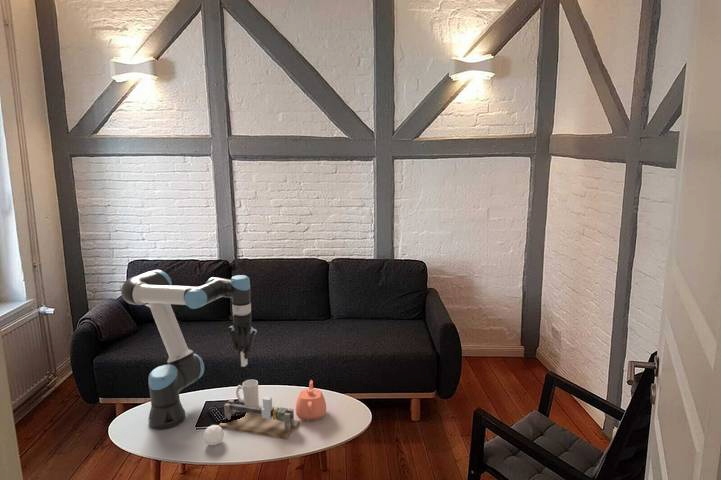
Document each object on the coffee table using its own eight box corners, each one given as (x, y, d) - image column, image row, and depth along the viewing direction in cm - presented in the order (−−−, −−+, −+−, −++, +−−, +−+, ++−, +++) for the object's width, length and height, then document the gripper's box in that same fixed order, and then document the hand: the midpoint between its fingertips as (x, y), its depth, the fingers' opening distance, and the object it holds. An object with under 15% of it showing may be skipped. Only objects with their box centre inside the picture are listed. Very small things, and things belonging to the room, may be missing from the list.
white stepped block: (261, 418, 221) (260, 399, 220) (266, 413, 225) (265, 395, 223) (270, 419, 220) (269, 401, 218) (274, 414, 224) (273, 396, 222)
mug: (260, 403, 243) (259, 379, 240) (257, 411, 236) (256, 386, 234) (239, 403, 243) (237, 379, 241) (235, 411, 237) (233, 386, 234)
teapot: (326, 402, 243) (325, 378, 240) (326, 426, 224) (325, 400, 221) (297, 403, 242) (296, 379, 240) (294, 428, 223) (293, 401, 220)
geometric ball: (218, 451, 212) (218, 444, 206) (200, 443, 213) (199, 435, 207) (227, 434, 217) (227, 426, 211) (209, 426, 218) (209, 418, 212)
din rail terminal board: (218, 427, 224) (217, 408, 222) (233, 412, 235) (232, 394, 233) (288, 439, 215) (287, 419, 213) (299, 423, 226) (299, 404, 224)
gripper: (223, 313, 217) (226, 366, 222) (251, 317, 213) (253, 371, 218) (233, 307, 224) (235, 359, 229) (260, 311, 220) (262, 363, 225)
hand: (244, 365), depth 224 cm, fingers closed
